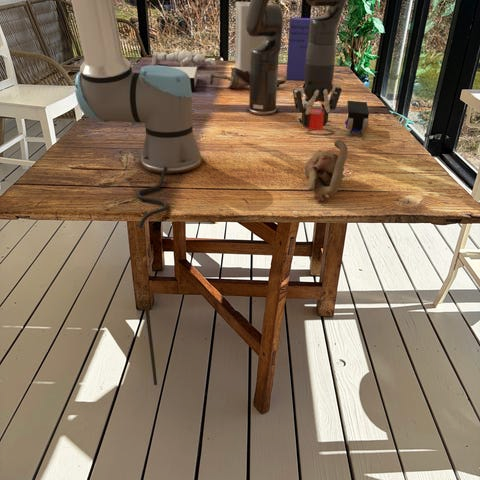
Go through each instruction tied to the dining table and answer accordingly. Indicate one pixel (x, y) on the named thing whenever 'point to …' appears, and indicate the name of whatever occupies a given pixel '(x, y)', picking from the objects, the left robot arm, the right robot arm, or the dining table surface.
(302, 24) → the cereal box
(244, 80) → the figurine
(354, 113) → the figurine character
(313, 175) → the brown monkey figure
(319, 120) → the tin
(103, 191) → the dining table surface
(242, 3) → the tall white carton
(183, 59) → the toy
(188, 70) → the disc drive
